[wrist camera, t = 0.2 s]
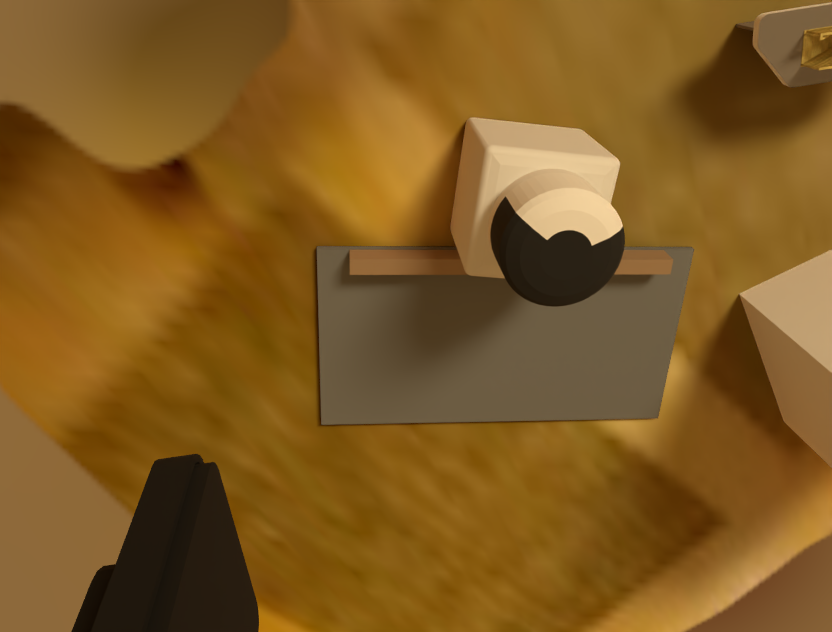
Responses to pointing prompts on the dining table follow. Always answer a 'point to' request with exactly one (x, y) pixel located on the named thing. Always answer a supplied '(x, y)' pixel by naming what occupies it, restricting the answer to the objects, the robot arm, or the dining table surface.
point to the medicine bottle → (537, 210)
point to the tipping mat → (490, 340)
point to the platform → (795, 43)
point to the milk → (798, 346)
